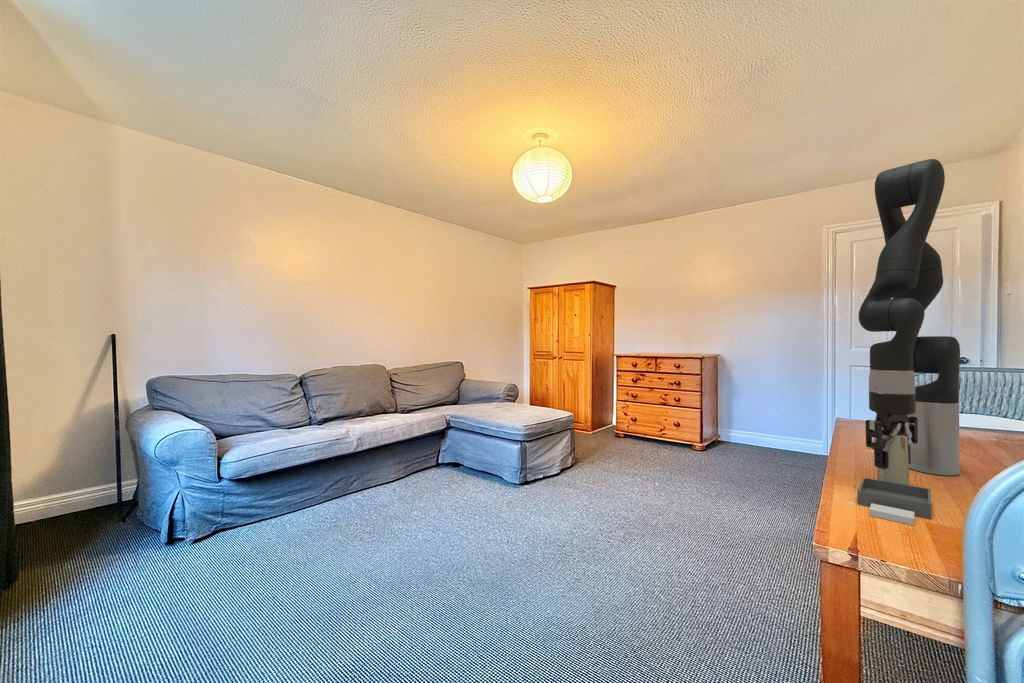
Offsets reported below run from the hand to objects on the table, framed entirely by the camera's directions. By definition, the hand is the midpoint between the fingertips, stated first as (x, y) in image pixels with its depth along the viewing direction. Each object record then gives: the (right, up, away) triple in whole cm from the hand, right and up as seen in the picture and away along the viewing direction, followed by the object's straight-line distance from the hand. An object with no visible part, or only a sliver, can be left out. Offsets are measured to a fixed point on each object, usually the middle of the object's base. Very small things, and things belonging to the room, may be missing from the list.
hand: (892, 465), depth 90 cm
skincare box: (0, -5, 0) cm, 5 cm away
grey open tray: (-8, -5, -9) cm, 14 cm away
